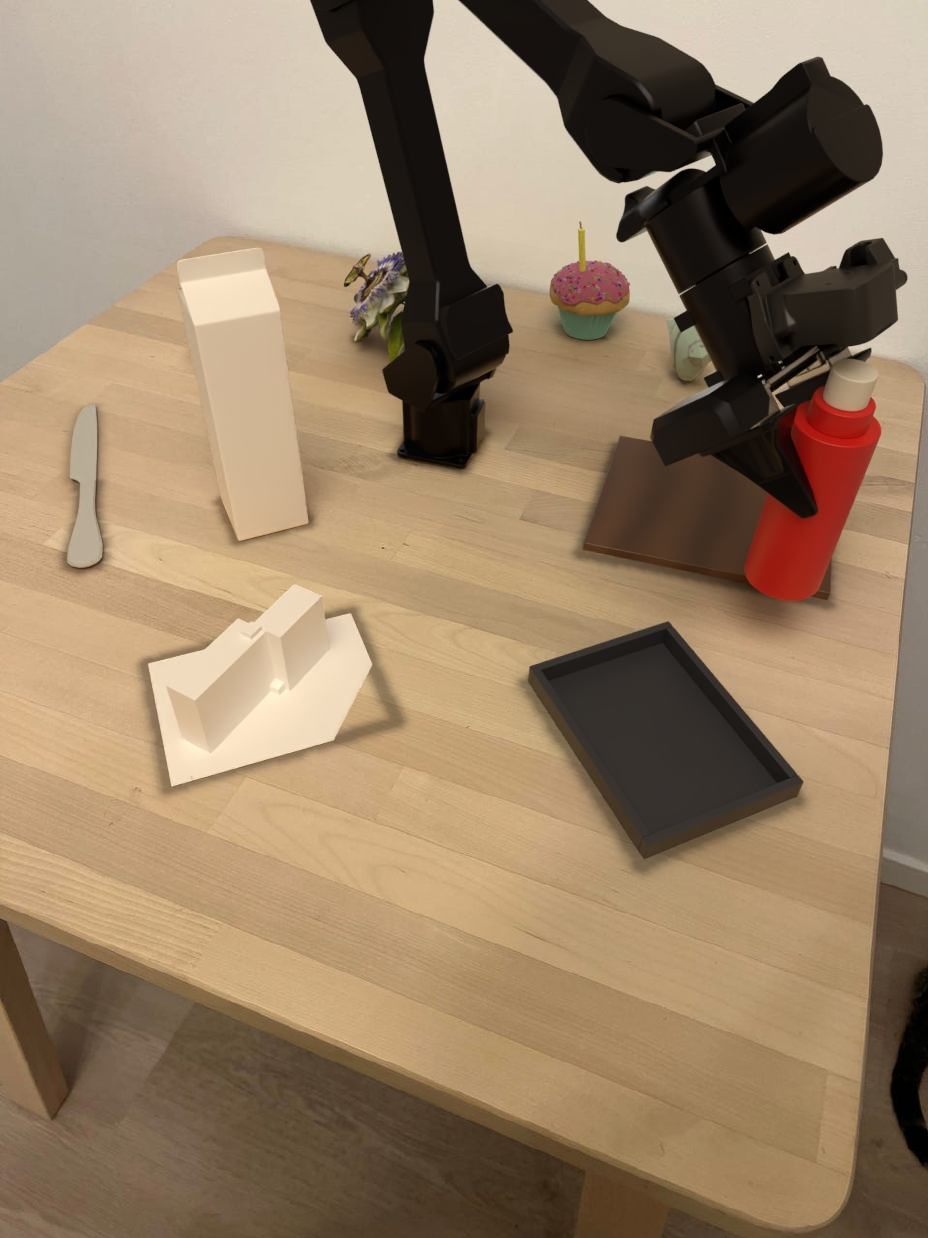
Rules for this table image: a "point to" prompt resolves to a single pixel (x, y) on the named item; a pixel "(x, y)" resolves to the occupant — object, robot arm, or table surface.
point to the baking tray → (661, 737)
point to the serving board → (678, 513)
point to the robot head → (687, 351)
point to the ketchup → (818, 484)
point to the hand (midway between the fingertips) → (832, 497)
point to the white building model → (259, 688)
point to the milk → (244, 389)
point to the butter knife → (85, 491)
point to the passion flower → (380, 300)
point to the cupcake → (588, 295)
